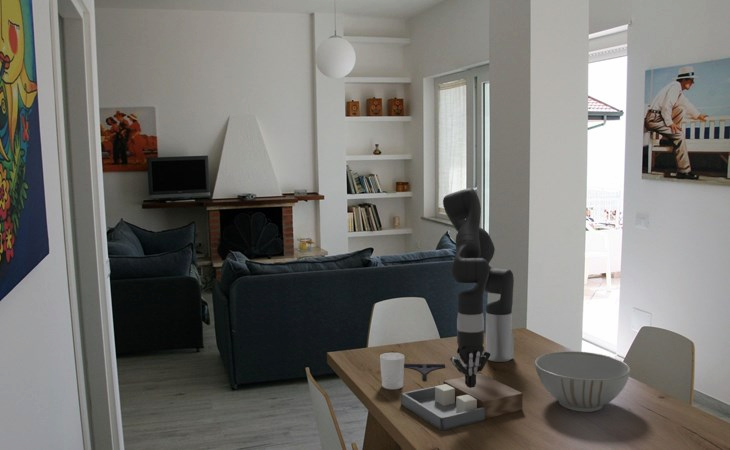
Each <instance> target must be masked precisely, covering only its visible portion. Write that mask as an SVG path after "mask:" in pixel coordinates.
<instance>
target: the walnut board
mask: <svg viewBox="0 0 730 450" xmlns="http://www.w3.org/2000/svg"><path fill="white" fill-rule="evenodd" d="M444 384H447V385H449V386H451V387H453V388H455V402H456V397H457V396H463V395H470V396H472V397H473V398H475V399H477V409H478V408H482V407H483V408H485V419H491V418H494V417H497V416H501V415H506V414H510V413H514V412H515V413H516V412H519V411H523V394H524V393H523V392H521V391H519V390H518V389H517V390H516V389H514V388H512V387H510V386H508V385H506V384H504V383H501V382H499V381H498V380H495V379H492V378H491V377H489V376H487V375H484V374H482V373H477V374H476V385H475V387H472V388H469V387H467V385H466V384H465V376H461V377H455V378H451V379H447V380H443V385H444Z"/></svg>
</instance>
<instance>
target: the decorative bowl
mask: <svg viewBox="0 0 730 450" xmlns="http://www.w3.org/2000/svg"><path fill="white" fill-rule="evenodd" d="M534 366H535V370H536V374H537V376H538V379H539V380H540V383H542V385H543V387H544V388H545V390H546V391H547V392H548V393H549V394H550V396H552V397H553V398H554V399H556V400H557V401H559V405H560V406H561V407H563V408H565V409H567V410H571V411H574V412H575V411H576V412H582V413H590V412H591V413H592V412H598V411H600V410H602V409H603V407H604V405H606V404H608V403H611V402H612V401H613V400H615V399H616V398H617V397H618V396H619V395H620V394H621V392H622V391H623V390H624V388H625V386H626V385H627V383H628V380H629V378H630V375H631V367H630V366H629V365H628V364H627V363H626V362H624V361H622V360H620V359H618V358H616V357H613V356H610V355H606V354H605V355H604V354H601V353H594V352H588V351H587V352H586V351H574V350H573V351H571V350H570V351H569V350H568V351H565V350H564V351H554V352H548V353H544V354H541V355H540V356H538V357H536V358H535V360H534Z"/></svg>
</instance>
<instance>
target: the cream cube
mask: <svg viewBox="0 0 730 450" xmlns="http://www.w3.org/2000/svg"><path fill="white" fill-rule="evenodd" d="M435 401H436V402H438V403H440V404H442V405H443V406H445V405H449V404H453V403H455V388H453V387H451V386H449V385H447V384H444V383H443V384H440V385H435Z"/></svg>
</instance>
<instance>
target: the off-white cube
mask: <svg viewBox="0 0 730 450" xmlns="http://www.w3.org/2000/svg"><path fill="white" fill-rule="evenodd" d="M473 409H477V399H475V398H473V397H472V396H470V395H463V396H457V397H456V412H457V413H460V412H465V411H469V410H473Z"/></svg>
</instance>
